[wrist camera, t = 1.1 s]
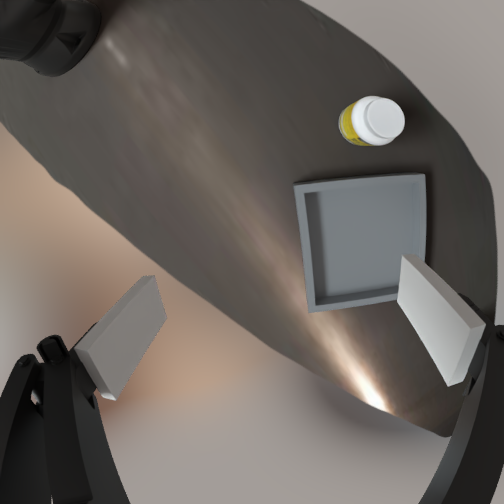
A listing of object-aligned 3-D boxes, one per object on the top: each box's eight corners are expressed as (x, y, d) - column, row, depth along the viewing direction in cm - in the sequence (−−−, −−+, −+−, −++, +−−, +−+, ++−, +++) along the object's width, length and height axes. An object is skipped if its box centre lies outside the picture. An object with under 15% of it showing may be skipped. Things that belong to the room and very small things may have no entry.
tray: (292, 183, 33) (294, 185, 30) (414, 171, 31) (424, 174, 28) (306, 301, 39) (308, 312, 36) (413, 285, 36) (421, 294, 34)
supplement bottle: (340, 146, 31) (363, 145, 22) (335, 105, 29) (355, 88, 20) (380, 145, 30) (413, 145, 21) (375, 105, 28) (407, 92, 19)
